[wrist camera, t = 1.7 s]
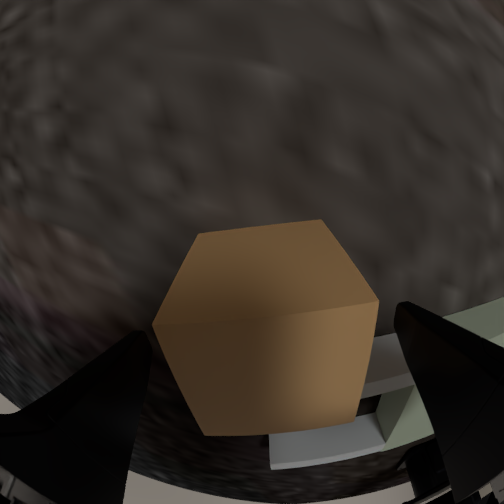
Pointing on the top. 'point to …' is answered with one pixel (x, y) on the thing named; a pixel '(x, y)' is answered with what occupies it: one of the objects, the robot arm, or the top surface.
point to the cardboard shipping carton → (268, 330)
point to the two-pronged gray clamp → (381, 402)
